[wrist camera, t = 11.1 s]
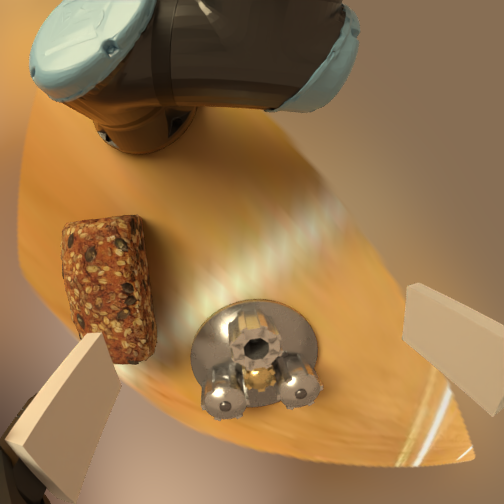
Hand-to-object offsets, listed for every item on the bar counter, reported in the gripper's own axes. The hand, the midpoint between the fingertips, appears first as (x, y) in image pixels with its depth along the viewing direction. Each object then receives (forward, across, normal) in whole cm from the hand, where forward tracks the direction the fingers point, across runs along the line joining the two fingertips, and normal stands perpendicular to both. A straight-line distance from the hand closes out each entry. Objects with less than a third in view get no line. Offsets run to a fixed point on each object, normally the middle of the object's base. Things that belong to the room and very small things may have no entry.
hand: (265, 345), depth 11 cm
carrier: (+29, +1, -19) cm, 34 cm away
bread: (+29, -17, -4) cm, 34 cm away
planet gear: (+27, +1, -13) cm, 30 cm away
